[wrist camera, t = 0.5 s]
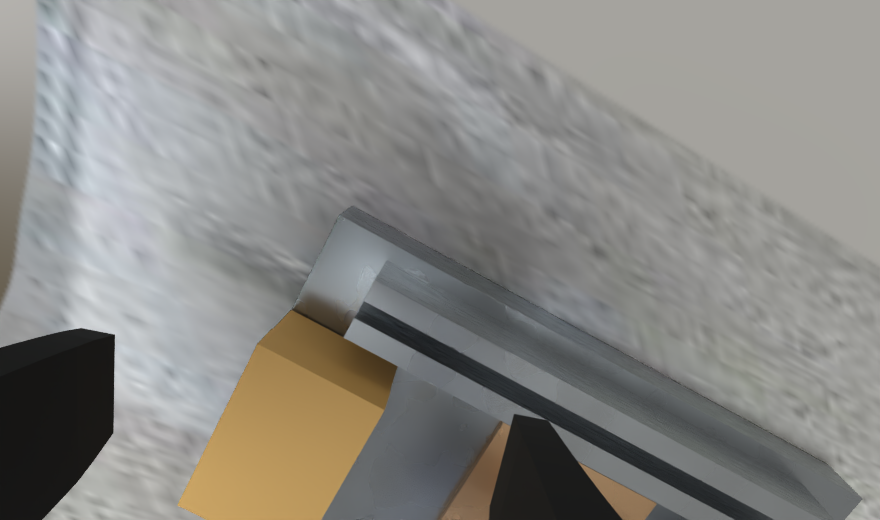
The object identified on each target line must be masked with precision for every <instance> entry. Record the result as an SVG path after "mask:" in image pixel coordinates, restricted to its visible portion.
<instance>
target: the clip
mask: <svg viewBox="0 0 880 520" xmlns="http://www.w3.org/2000/svg"><path fill="white" fill-rule="evenodd" d="M397 367H398V366H396V365H394V364H392V363H391V362H389V361H387V360H385V359H383V358H381V357H379V356H377V355H375V354H373V353H372V352H370V351H368V350H366V349H364V348H362V347H360V346H358V345H356V344H354V343H353V342H351V341H349V340H347V339H345V338H344V337H342V336H340V335H338V334H336V333H334V332H333V331H331V330H329V329H327V328H325V327H323V326H321V325H319V324H317V323H315V322H314V321H312V320H310V319H308V318H306V317H304V316H302V315H300V314H298V313H296V312H295V311H293V310H290V312H289V313H288V314H287V315H286V316H285V317H284V318H283V319H282V320H281V321H280V322H279V323H278V324H277V325H276V326H275V327H274V328H273V329H271V330H270V331H269V332H268V333H267V334H266V335H265V336H264V337H263V338H262V340H261V341H260V342H259V343H258V344H257V346H256V348H255V350H254V352H253V354H252V356H251V358H250V360H249V362H248V364H247V366H246V368H245V370H244V372H243V374H242V376H241V378H240V380H239V382H238V384H237V386H236V388H235V390H234V392H233V394H232V396H231V398H230V400H229V402H228V404H227V406H226V408H225V410H224V412H223V414H222V416H221V418H220V420H219V422H218V424H217V426H216V428H215V430H214V432H213V434H212V436H211V438H210V440H209V442H208V444H207V446H206V448H205V450H204V453H203V455H202V457H201V459H200V461H199V463H198V465H197V467H196V469H195V471H194V473H193V475H192V477H191V479H190V481H189V483H188V485H187V487H186V489H185V491H184V493H183V495H182V497H181V499H180V501H179V503H178V506H180V507H182V508H184V509H186V510H188V511H190V512H192V513H194V514H196V515H198V516H200V517H202V518H204V519H206V520H321V519H322V518H323V516H324V514H325V512H326V511H327V509H328V507H329V505H330V504H331V502H332V500H333V499H334V497H335V495H336V493H337V492H338V490H339V488H340V486H341V485H342V483H343V481H344V480H345V478H346V476H347V474H348V473H349V471H350V469H351V467H352V466H353V464H354V462H355V461H356V459H357V457H358V455H359V454H360V452H361V450H362V448H363V447H364V445H365V443H366V442H367V440H368V438H369V436H370V435H371V433H372V431H373V429H374V428H375V426H376V424H377V423H378V421H379V419H380V417H381V416H382V414H383V412H384V410H385V408H386V404H387V401H388V398H389V395H390V389H391V386H392V383H393V380H394V376H395V373H396V370H397Z"/></svg>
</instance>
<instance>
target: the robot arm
mask: <svg viewBox="0 0 880 520" xmlns="http://www.w3.org/2000/svg"><path fill="white" fill-rule="evenodd" d="M114 351H115V335H113V334H108V333H103V332H98V331H93V330H88V329H83V328H80V329H74V330H68V331H63V332H58V333H54V334H50V335H46V336H42V337H38V338H34V339H30V340H27V341H23V342H19V343H16V344H12V345H8V346H5V347H1V348H0V520H42V519H43V518H44V517H45V516H46V515H47V514H48V513H49V512H50V511H51V510H52V509H53V507H54V506H55V505H56V504H57V503H58V502H59V501H60V500H61V499H62V498H63V497H64V496H65V495H66V494H67V493H68V492H69V490H70V489H71V488H72V487H73V486H74V485H75V484H76V483H77V482H78V480H79V479H80V478H81V477H82V475H83V474H84V473H85V471H86V470H87V469H88V467H89V466H90V465H91V463H92V462H93V461H94V459H95V458H96V457H97V455H98V454H99V452H100V451H101V450H102V448H103V447H104V445H105V444H106V442H107V441H108V440H109V438H110V437H111V435H112V434H113V422H114ZM489 520H623V519H622V518H621V517H620V516H619V515H618V513H617V512H616V511H615V510H614V508H613V507H612V506H611V505H610V503H609V502H608V501H607V500H606V498H605V497H604V496H603V495H602V493H601V492H600V491H599V489H598V488H597V487H596V486H595V484H594V483H593V482H592V480H591V479H590V478H589V476H588V475H587V474H586V472H585V471H584V470H583V468H582V467H581V465H580V464H579V463H578V461H577V460H576V459H575V457H574V456H573V454H572V453H571V452H570V450H569V449H568V447H567V446H566V445H565V443H564V442H563V440H562V439H561V438H560V436H559V435H558V433H557V432H556V431H555V429H554V428H553V426H552V425H551V424H550V422H549V421H548V420H543V419H538V418H533V417H528V416H523V415H518V414H514V416H513V419H512V423H511V427H510V431H509V435H508V438H507V442H506V446H505V450H504V454H503V457H502V461H501V465H500V469H499V473H498V477H497V480H496V484H495V488H494V492H493V496H492V499H491V503H490V507H489Z"/></svg>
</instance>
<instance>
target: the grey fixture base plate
mask: <svg viewBox="0 0 880 520" xmlns="http://www.w3.org/2000/svg"><path fill="white" fill-rule="evenodd" d="M292 310H293V311H295V312H296V313H298V314H300V315H302V316H304V317H306V318H308V319H310V320H312V321H314V322H315V323H317V324H319V325H321V326H323V327H325V328H327V329H329V330H331V331H333V332H334V333H336V334H338V335H340V336H342V337H344V338H345V339H347V340H349V341H351V342H353V343H354V344H356V345H358V346H360V347H362V348H364V349H366V350H368V351H370V352H372V353H373V354H375V355H377V356H379V357H381V358H383V359H385V360H387V361H389V362H391V363H392V364H394V365H396V366H398V367H397V370H396V373H395V376H394V380H393V383H392V386H391V389H390V395H389V398H388V401H387V404H386V408H385V410H384V412H383V414H382V416H381V417H380V419H379V421H378V423H377V424H376V426H375V428H374V429H373V431H372V433H371V435H370V436H369V438H368V440H367V442H366V443H365V445H364V447H363V448H362V450H361V452H360V454H359V455H358V457H357V459H356V461H355V462H354V464H353V466H352V467H351V469H350V471H349V473H348V474H347V476H346V478H345V480H344V481H343V483H342V485H341V486H340V488H339V490H338V492H337V493H336V495H335V497H334V499H333V500H332V502H331V504H330V505H329V507H328V509H327V511H326V512H325V514H324V516H323V518H322V519H321V520H489V507H490V503H491V499H492V496H493V492H494V488H495V484H496V480H497V477H498V473H499V469H500V465H501V461H502V457H503V454H504V450H505V446H506V442H507V438H508V435H509V431H510V427H511V423H512V419H513V416H514V414H518V415H523V416H528V417H533V418H538V419H543V420H548V421H549V422H550V424H551V425H552V426H553V428H554V429H555V431H556V432H557V433H558V435H559V436H560V438H561V439H562V440H563V442H564V443H565V445H566V446H567V447H568V449H569V450H570V452H571V453H572V454H573V456H574V457H575V459H576V460H577V461H578V463H579V464H580V465H581V467H582V468H583V470H584V471H585V472H586V474H587V475H588V476H589V478H590V479H591V480H592V482H593V483H594V484H595V486H596V487H597V488H598V489H599V491H600V492H601V493H602V495H603V496H604V497H605V498H606V500H607V501H608V502H609V503H610V505H611V506H612V507H613V508H614V510H615V511H616V512H617V513H618V515H619V516H620V517H621V518H622V519H623V520H845V518H846V517H847V516H848V515H849V514H850V513H851V512H852V510H853V509H854V508H855V507H856V506H857V505H858V503H859V502H860V501H861V500H862V498H861V497H860V496H859V495H858V494H857V493H856V492H855V491H854V490H853V489H852V488H851V487H850V486H849V485H848V484H847V483H846V482H845V481H844V480H843V479H842V478H841V477H840V476H839V475H838V474H837V473H836V472H835V471H834V470H833V469H832V468H831V467H830V466H829V465H828V464H826V463H824V462H822V461H820V460H819V459H817V458H815V457H813V456H811V455H809V454H808V453H806V452H804V451H802V450H800V449H798V448H797V447H795V446H793V445H791V444H789V443H787V442H786V441H784V440H782V439H780V438H778V437H776V436H775V435H773V434H771V433H769V432H767V431H765V430H764V429H762V428H760V427H758V426H756V425H754V424H752V423H751V422H749V421H747V420H745V419H743V418H741V417H740V416H738V415H736V414H734V413H732V412H730V411H729V410H727V409H725V408H723V407H721V406H719V405H718V404H716V403H714V402H712V401H710V400H708V399H707V398H705V397H703V396H701V395H699V394H697V393H695V392H694V391H692V390H690V389H688V388H686V387H684V386H683V385H681V384H679V383H677V382H675V381H673V380H672V379H670V378H668V377H666V376H664V375H662V374H661V373H659V372H657V371H655V370H653V369H651V368H650V367H648V366H646V365H644V364H642V363H640V362H639V361H637V360H635V359H633V358H631V357H629V356H627V355H626V354H624V353H622V352H620V351H618V350H616V349H615V348H613V347H611V346H609V345H607V344H605V343H604V342H602V341H600V340H598V339H596V338H594V337H593V336H591V335H589V334H587V333H585V332H583V331H582V330H580V329H578V328H576V327H574V326H572V325H571V324H569V323H567V322H565V321H563V320H561V319H559V318H558V317H556V316H554V315H552V314H550V313H548V312H547V311H545V310H543V309H541V308H539V307H537V306H536V305H534V304H532V303H530V302H528V301H526V300H525V299H523V298H521V297H519V296H517V295H515V294H514V293H512V292H510V291H508V290H506V289H504V288H502V287H501V286H499V285H497V284H495V283H493V282H491V281H490V280H488V279H486V278H484V277H482V276H480V275H479V274H477V273H475V272H473V271H471V270H469V269H468V268H466V267H464V266H462V265H460V264H458V263H457V262H455V261H453V260H451V259H449V258H447V257H446V256H444V255H442V254H440V253H438V252H436V251H434V250H433V249H431V248H429V247H427V246H425V245H423V244H422V243H420V242H418V241H416V240H414V239H412V238H411V237H409V236H407V235H405V234H403V233H401V232H400V231H398V230H396V229H394V228H392V227H390V226H389V225H387V224H385V223H383V222H381V221H379V220H377V219H376V218H374V217H372V216H370V215H368V214H366V213H365V212H363V211H361V210H359V209H357V208H355V207H354V206H351V207H350V208H348V209H347V210H346V211H344V212H343V213H342V214H340V215H339V217H338V219H337V221H336V223H335V225H334V227H333V229H332V231H331V233H330V235H329V237H328V239H327V241H326V243H325V245H324V247H323V249H322V251H321V252H320V254H319V256H318V258H317V260H316V262H315V264H314V266H313V268H312V270H311V272H310V274H309V276H308V278H307V280H306V282H305V284H304V286H303V288H302V290H301V292H300V294H299V296H298V298H297V300H296V302H295V304H294V306H293V308H292Z"/></svg>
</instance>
